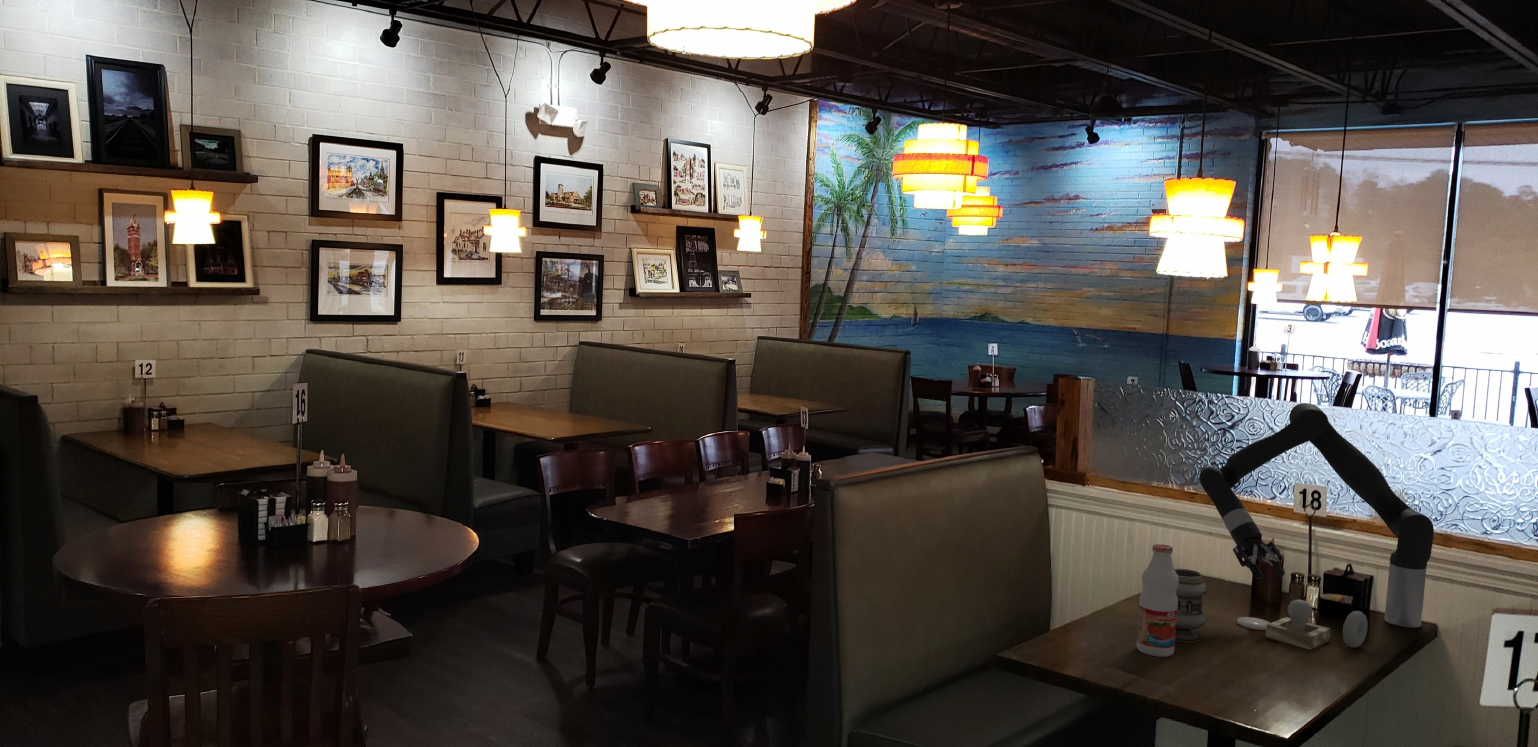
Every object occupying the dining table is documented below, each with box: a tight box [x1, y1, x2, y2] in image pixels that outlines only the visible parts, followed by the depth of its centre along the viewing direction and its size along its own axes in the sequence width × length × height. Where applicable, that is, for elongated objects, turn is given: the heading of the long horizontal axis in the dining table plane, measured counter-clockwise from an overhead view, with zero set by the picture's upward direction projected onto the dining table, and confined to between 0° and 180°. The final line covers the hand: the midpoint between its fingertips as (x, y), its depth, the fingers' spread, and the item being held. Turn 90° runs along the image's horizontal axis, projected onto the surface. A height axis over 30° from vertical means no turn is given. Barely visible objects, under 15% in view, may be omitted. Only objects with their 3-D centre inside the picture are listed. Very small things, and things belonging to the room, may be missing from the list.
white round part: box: [1236, 616, 1271, 631], centre depth 305 cm, size 9×9×1 cm
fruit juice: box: [1136, 543, 1179, 658], centre depth 279 cm, size 9×9×28 cm
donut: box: [1342, 610, 1369, 649], centre depth 289 cm, size 10×4×10 cm, turn 129°
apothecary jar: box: [1174, 568, 1209, 644], centre depth 292 cm, size 12×12×18 cm
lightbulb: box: [1287, 599, 1313, 632], centre depth 294 cm, size 6×6×11 cm
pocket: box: [1265, 616, 1331, 651], centre depth 294 cm, size 12×12×4 cm
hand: (1271, 576), depth 302 cm, fingers open, 8 cm apart
